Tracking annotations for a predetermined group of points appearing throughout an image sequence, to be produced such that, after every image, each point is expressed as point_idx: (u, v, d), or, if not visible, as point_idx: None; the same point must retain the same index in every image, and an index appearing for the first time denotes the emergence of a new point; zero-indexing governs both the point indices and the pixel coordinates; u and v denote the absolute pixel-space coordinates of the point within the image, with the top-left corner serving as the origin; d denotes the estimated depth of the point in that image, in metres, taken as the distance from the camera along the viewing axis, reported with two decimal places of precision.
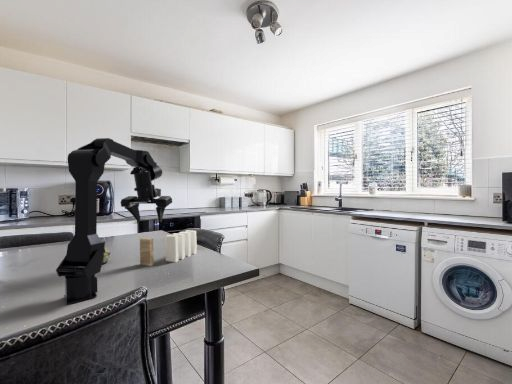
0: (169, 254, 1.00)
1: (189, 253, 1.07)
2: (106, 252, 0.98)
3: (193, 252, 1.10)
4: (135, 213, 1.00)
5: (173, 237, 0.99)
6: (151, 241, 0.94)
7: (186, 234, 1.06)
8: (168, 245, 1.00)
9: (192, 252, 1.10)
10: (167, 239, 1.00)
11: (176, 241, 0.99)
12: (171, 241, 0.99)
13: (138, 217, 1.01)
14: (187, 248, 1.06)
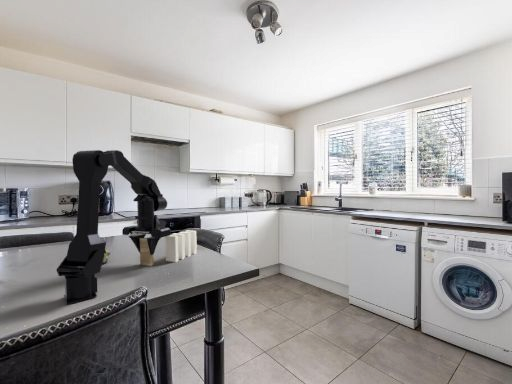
0: (169, 254, 1.00)
1: (189, 253, 1.07)
2: (106, 252, 0.98)
3: (193, 252, 1.10)
4: (138, 243, 0.95)
5: (173, 237, 0.99)
6: None
7: (186, 234, 1.06)
8: (168, 245, 1.00)
9: (192, 252, 1.10)
10: (167, 239, 1.00)
11: (176, 241, 0.99)
12: (171, 241, 0.99)
13: None
14: (187, 248, 1.06)
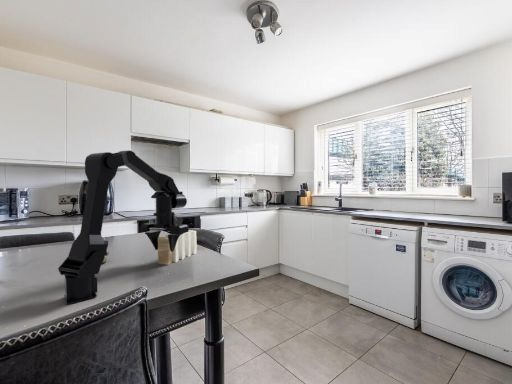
0: None
1: (189, 253, 1.07)
2: None
3: (193, 252, 1.10)
4: (154, 240, 0.97)
5: None
6: None
7: (186, 234, 1.06)
8: None
9: (192, 252, 1.10)
10: None
11: None
12: None
13: (156, 245, 0.98)
14: (187, 248, 1.06)
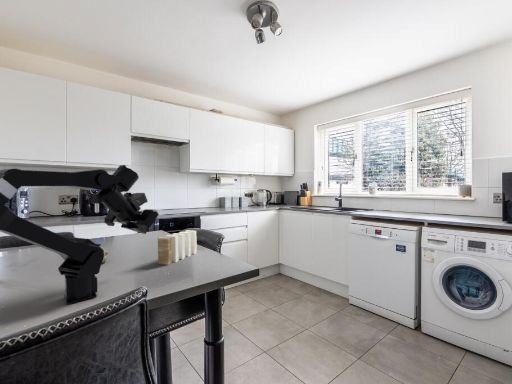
0: None
1: (189, 253, 1.07)
2: (104, 252, 0.98)
3: (193, 252, 1.10)
4: None
5: (173, 237, 0.99)
6: (169, 240, 0.95)
7: (186, 234, 1.06)
8: None
9: (192, 252, 1.10)
10: None
11: (176, 241, 0.99)
12: (171, 241, 0.99)
13: None
14: (187, 248, 1.06)
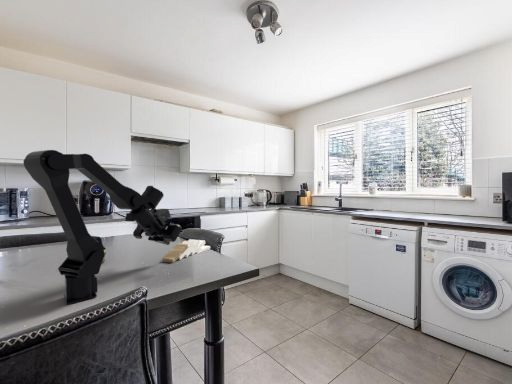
0: None
1: (193, 251, 1.09)
2: None
3: None
4: None
5: (191, 242, 1.09)
6: (186, 246, 1.05)
7: (202, 241, 1.17)
8: None
9: None
10: (184, 242, 1.10)
11: (191, 245, 1.08)
12: None
13: None
14: None
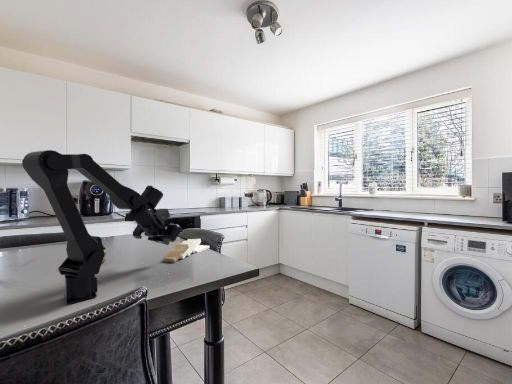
0: None
1: (194, 249, 1.12)
2: None
3: (197, 250, 1.13)
4: None
5: (191, 241, 1.10)
6: (187, 247, 1.05)
7: (198, 239, 1.19)
8: None
9: (196, 250, 1.13)
10: (184, 242, 1.10)
11: (191, 245, 1.09)
12: (187, 243, 1.09)
13: None
14: None
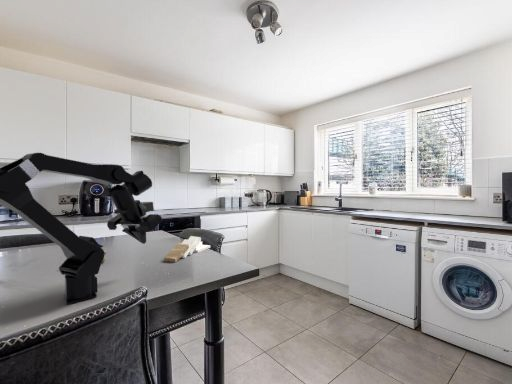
0: None
1: (196, 247, 1.14)
2: None
3: (197, 249, 1.14)
4: None
5: (192, 240, 1.12)
6: (187, 247, 1.06)
7: None
8: None
9: None
10: (185, 241, 1.12)
11: (193, 243, 1.10)
12: (188, 242, 1.10)
13: None
14: None
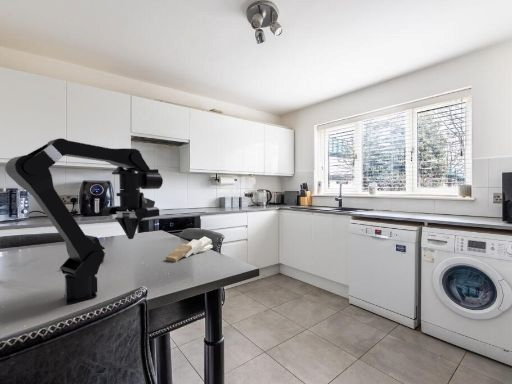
0: None
1: None
2: None
3: None
4: None
5: (199, 241, 1.12)
6: (190, 247, 1.06)
7: None
8: (190, 244, 1.11)
9: None
10: (193, 241, 1.13)
11: (198, 244, 1.10)
12: (195, 242, 1.11)
13: None
14: None
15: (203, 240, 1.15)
